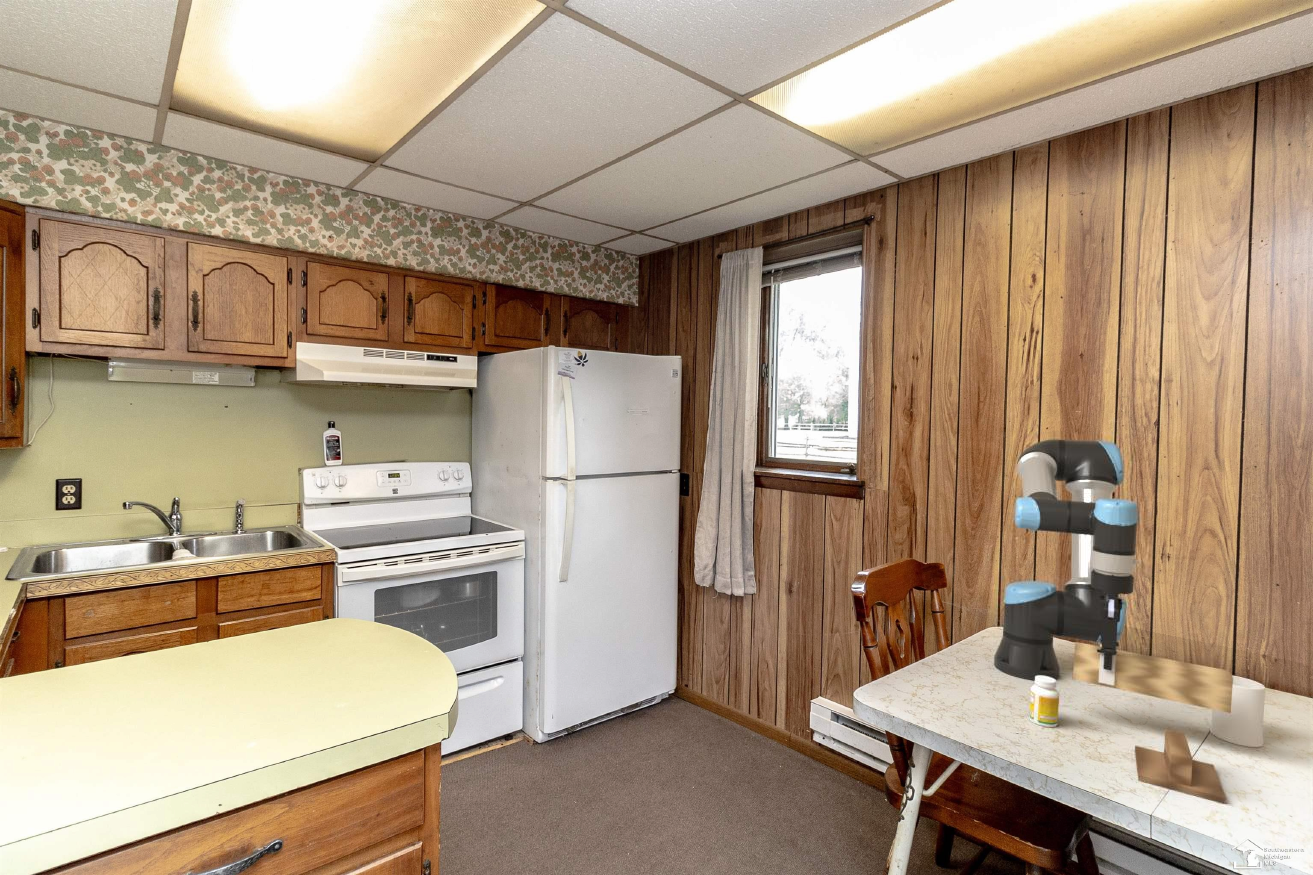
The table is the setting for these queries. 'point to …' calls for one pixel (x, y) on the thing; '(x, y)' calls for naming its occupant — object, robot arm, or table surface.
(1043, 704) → the supplement bottle
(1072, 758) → the table surface
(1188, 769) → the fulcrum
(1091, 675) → the plank
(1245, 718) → the mug
